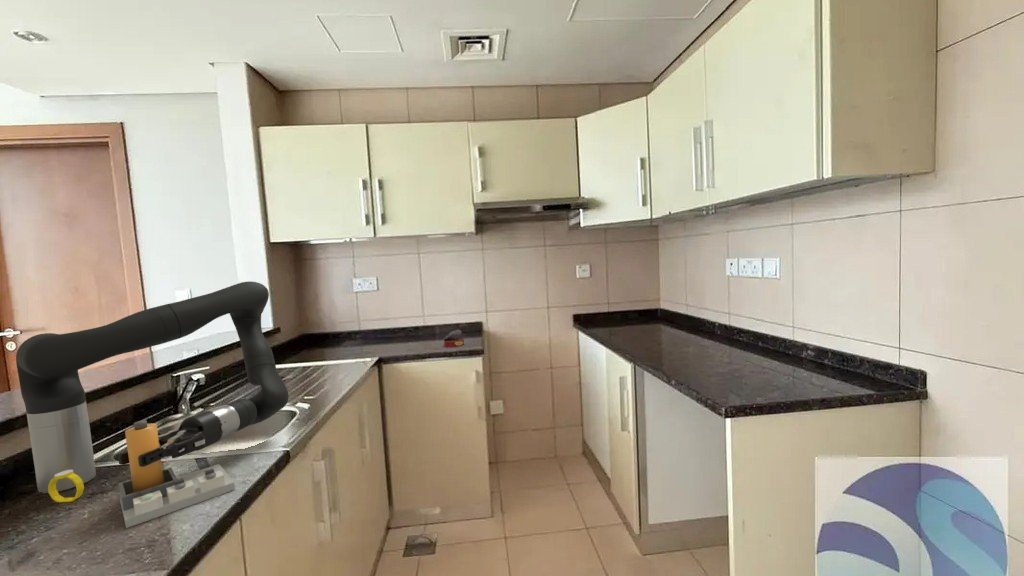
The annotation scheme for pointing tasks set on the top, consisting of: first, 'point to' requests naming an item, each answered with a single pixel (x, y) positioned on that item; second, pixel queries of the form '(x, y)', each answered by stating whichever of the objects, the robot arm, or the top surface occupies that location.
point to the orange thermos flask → (139, 443)
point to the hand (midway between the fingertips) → (130, 460)
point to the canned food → (453, 339)
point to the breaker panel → (183, 502)
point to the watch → (70, 475)
